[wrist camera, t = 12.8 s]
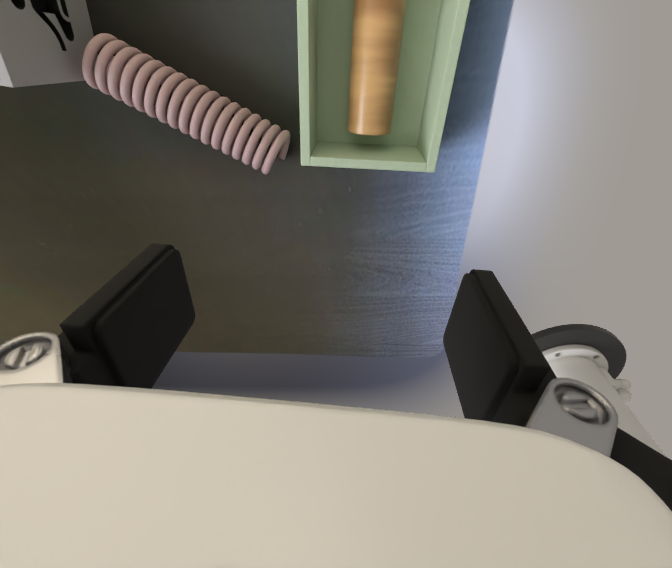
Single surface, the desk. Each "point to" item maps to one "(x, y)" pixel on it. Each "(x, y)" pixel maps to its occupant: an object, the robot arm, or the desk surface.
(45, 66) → the icon cube
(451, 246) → the desk surface
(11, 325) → the desk surface
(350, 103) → the wooden cylinder
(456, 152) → the desk surface
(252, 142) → the coil
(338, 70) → the bin
